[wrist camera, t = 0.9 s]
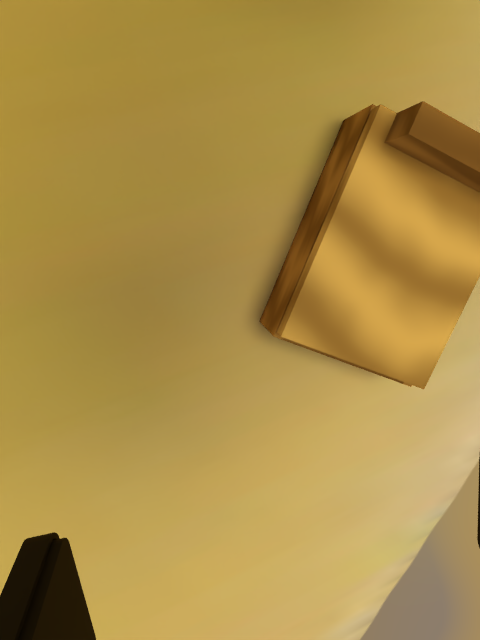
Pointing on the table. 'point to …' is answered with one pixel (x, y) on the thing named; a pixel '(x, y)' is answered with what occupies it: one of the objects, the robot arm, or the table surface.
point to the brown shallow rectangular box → (315, 227)
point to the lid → (395, 247)
